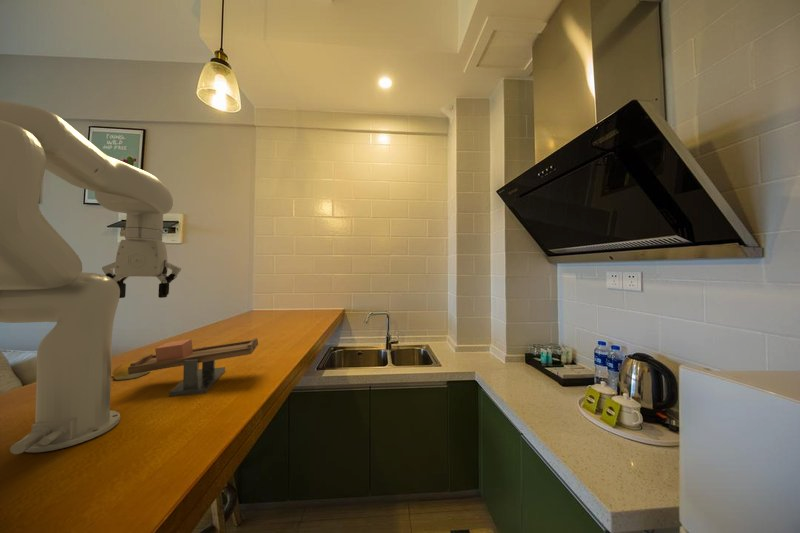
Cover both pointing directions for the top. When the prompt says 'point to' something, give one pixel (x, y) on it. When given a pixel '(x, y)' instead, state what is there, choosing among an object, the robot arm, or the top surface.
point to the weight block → (174, 350)
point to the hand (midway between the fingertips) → (141, 297)
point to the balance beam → (195, 356)
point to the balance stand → (197, 378)
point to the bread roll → (126, 372)
